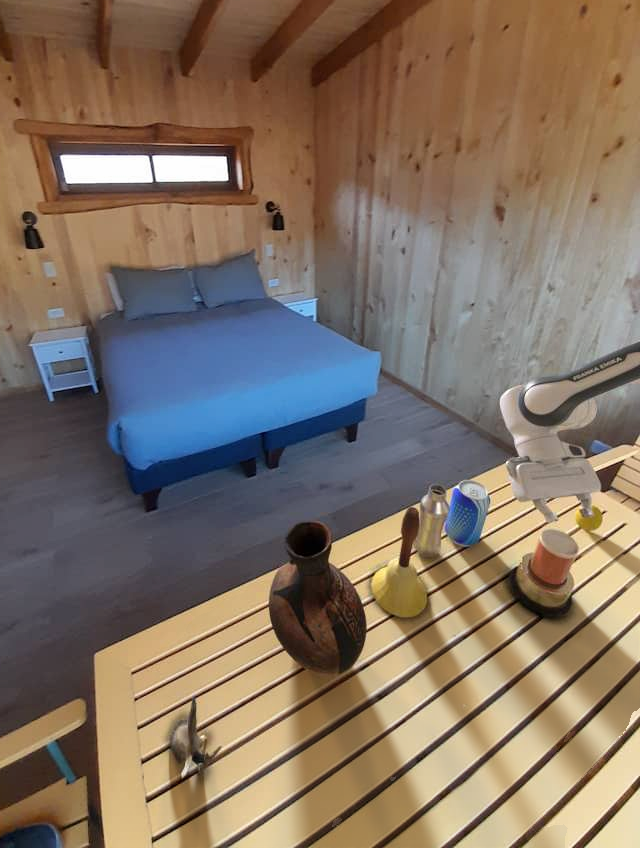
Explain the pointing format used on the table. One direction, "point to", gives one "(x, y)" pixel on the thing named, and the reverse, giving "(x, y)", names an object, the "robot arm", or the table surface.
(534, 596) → the tan hollow cylinder
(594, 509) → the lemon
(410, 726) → the table surface
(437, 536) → the silver metal bottle
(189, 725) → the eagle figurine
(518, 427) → the robot arm
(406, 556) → the handbell
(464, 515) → the beer can
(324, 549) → the ceramic vessel
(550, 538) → the terracotta cup
